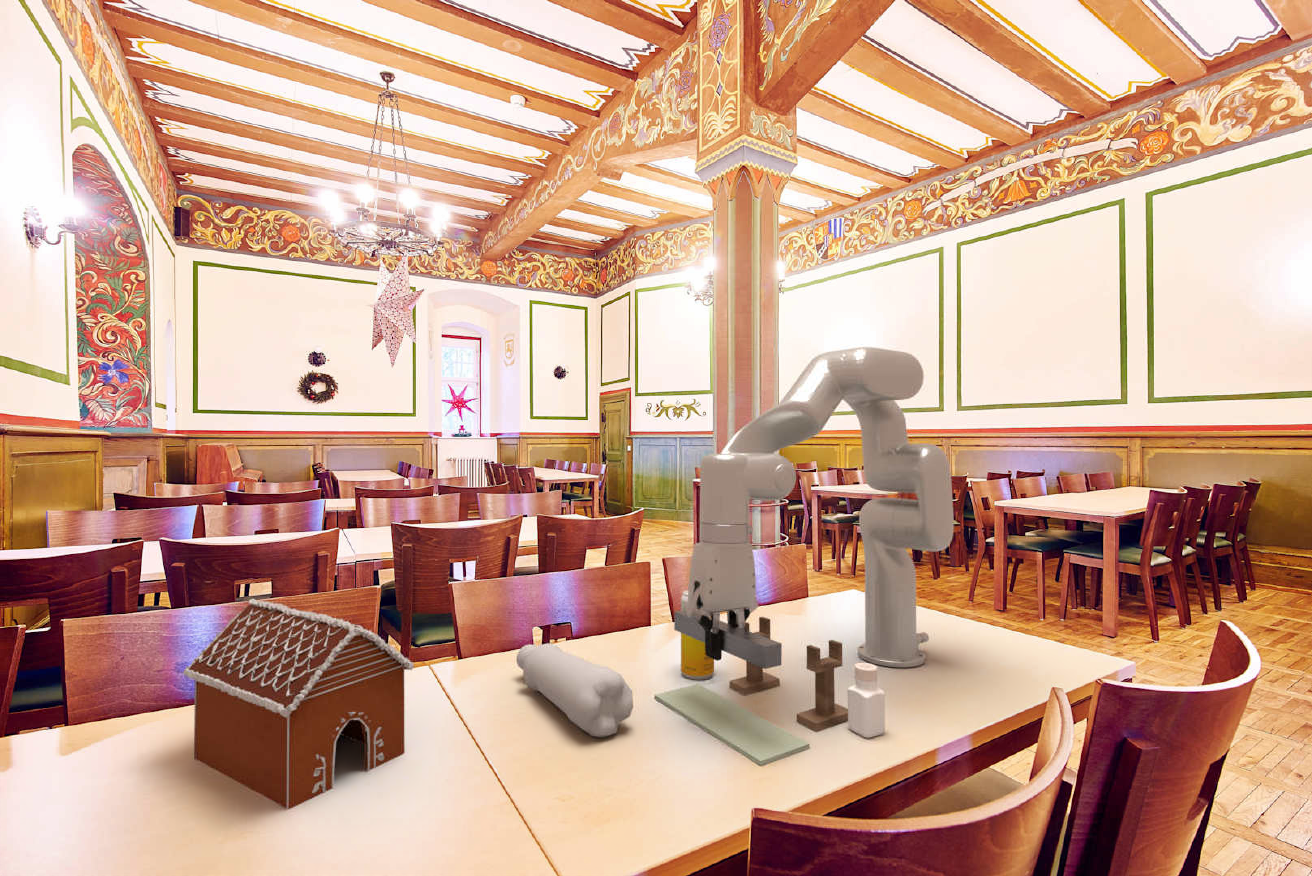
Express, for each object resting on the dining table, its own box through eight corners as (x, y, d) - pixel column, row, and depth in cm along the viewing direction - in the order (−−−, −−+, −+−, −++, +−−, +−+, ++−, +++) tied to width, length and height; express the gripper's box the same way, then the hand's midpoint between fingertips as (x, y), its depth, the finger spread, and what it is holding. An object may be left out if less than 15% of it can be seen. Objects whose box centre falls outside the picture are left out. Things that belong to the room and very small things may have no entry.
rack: (764, 678, 112) (763, 614, 112) (853, 719, 95) (852, 643, 95) (729, 687, 107) (729, 621, 108) (816, 731, 91) (815, 652, 91)
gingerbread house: (281, 821, 69) (283, 640, 69) (175, 761, 82) (177, 610, 83) (420, 751, 85) (421, 605, 85) (312, 711, 98) (314, 584, 99)
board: (698, 687, 108) (698, 684, 108) (809, 748, 86) (809, 743, 86) (654, 698, 103) (654, 694, 103) (760, 765, 81) (760, 761, 81)
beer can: (712, 682, 110) (711, 597, 110) (678, 679, 111) (678, 595, 112) (715, 670, 116) (715, 589, 116) (683, 668, 117) (683, 588, 118)
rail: (674, 629, 103) (674, 611, 103) (689, 627, 104) (689, 609, 104) (765, 669, 84) (765, 646, 84) (781, 665, 86) (781, 643, 86)
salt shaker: (866, 740, 88) (866, 673, 88) (846, 729, 91) (845, 664, 92) (886, 734, 90) (886, 668, 90) (865, 723, 93) (865, 660, 94)
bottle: (648, 706, 92) (559, 657, 116) (618, 661, 89) (534, 621, 114) (604, 755, 87) (522, 693, 112) (571, 709, 85) (494, 656, 109)
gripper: (748, 529, 102) (747, 641, 102) (666, 534, 94) (664, 657, 93) (780, 534, 96) (779, 654, 95) (695, 540, 87) (693, 672, 87)
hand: (722, 654), depth 94 cm, fingers closed on rail, 3 cm apart
